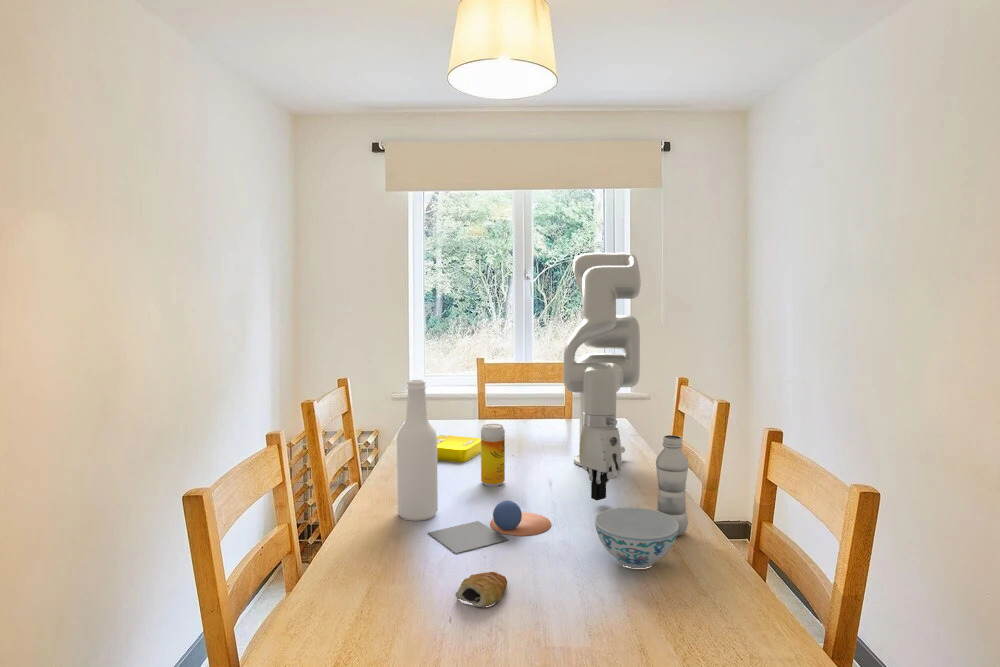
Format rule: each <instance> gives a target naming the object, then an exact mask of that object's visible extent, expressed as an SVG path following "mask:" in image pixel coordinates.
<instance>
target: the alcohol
mask: <svg viewBox="0 0 1000 667" xmlns="http://www.w3.org/2000/svg"><path fill="white" fill-rule="evenodd" d="M426 383H427V382H426V381H425V380H424V379H410V380H408V381H407V400H406V401H407V402H406V415H405V420H404V423H403V424H402V426H401V427H400V429H399V430H398V433H397V435H396V436H397V437H396V460H397V462H396V463H397V464H396V467H397V468H396V469H397V471H396V472H397V474H396V475H397V476H396V477H397V479H396V480H397V481H396V482H397V485H396V486H397V513H398V515H399V516H400V518H401V519H402V518H403V519H402V520H406V521H409V520H410V521H409V522H422V520H423V521H428V520H431V519H433V518H434V517H435V516H436V515H437V512H438V510H439V509H438V508H439V504H438V499H439V497H438V494H439V492H438V484H439V483H438V460H437V437H438V435H437V432H436V429H435V427H434V426H433V425H432V424H431V422H430V421H429V417H428V409H427V408H428V406H427V396H426V388H427V387H426Z"/></svg>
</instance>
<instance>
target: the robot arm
mask: <svg viewBox="0 0 1000 667" xmlns="http://www.w3.org/2000/svg"><path fill="white" fill-rule="evenodd" d="M572 270H573V275H574V279H575V282H576V285H577V288H578V289H579V292H580V296H581V302H582V303H581V304H582V307H581V308H582V311H581V312H582V313H581V314H582V315H581V318H582V320H581V324H580V325H579V326H578V327H577V328H576V329H575V330H574V331H573V332H572V334H571V335H570V336H569V337H568V340H567V342H566V343H565V347H564V352H563V366H562V368H563V370H562V371H563V374H562V377H563V378H562V381H563V385H564V388H565V389H566V390H567V391H568V392H570V393H573V394H579V438H578V439H579V450H578V451H579V452H578V454H577V455H575V456H574V458H573V462H574V464H575V465H577V466H580V467H581V468H582V469H583V470H585V472H587V474H588V479H589V481H590V484H591V487H590V492H591V493H590V498H591V499H592V500H595V501H601V500H604V499H606V498H607V483H608V482H609V480H614V479H617V478H618V474H617V471H621V469H622V462H623V461H622V460H623V458H622V454H624V453H625V452H626V448H625V446H622V443H621V437H620V436H621V435H620V431H619V428H618V427H617V424H618V420H617V393H618V392H619V391H620V389H621V388H632V387H633V388H634V387H636V386H637V385H638V383H639V380H640V372H641V369H640V368H641V366H640V365H641V356H640V355H641V347H640V346H641V333H640V324H639V321H638V319H637V318H636V317H634V316H633V315H629V314H627V315H626V314H622V315H621V314H617V300H619V299H620V300H622V299H623V300H627V299H629V300H630V299H635V298H637V297H639V294H640V290H641V281H642V280H641V272H640V271H641V270H640V267H639V261H638V259H637V257H636V255H635V254H633V253H627V252H619V253H618V252H615V253H614V252H591V253H583V254H579V255H577V256H576V257H574V259H573V262H572ZM583 344H584V345H585V347H588V348H590V349H611V350H612V349H613V350H614V349H615V350H616V349H617V350H618V349H619V350H621V351H623V353H609V352H608V353H607V352H604V353H603V352H598V353H597V352H591V353H586V354H583V355H582V356H580V357H579V358H578V360H577V361H576V360H575V359H576V353H577V351H578V349H579V348H580V346H582V345H583Z"/></svg>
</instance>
